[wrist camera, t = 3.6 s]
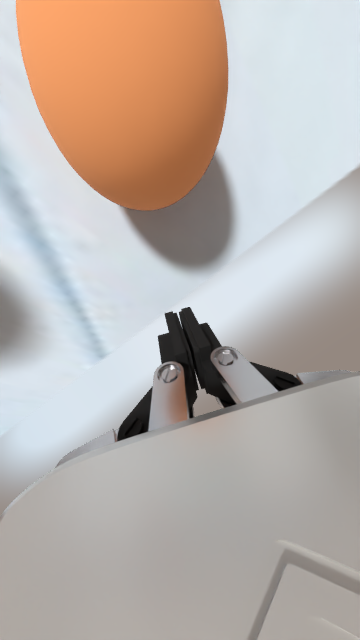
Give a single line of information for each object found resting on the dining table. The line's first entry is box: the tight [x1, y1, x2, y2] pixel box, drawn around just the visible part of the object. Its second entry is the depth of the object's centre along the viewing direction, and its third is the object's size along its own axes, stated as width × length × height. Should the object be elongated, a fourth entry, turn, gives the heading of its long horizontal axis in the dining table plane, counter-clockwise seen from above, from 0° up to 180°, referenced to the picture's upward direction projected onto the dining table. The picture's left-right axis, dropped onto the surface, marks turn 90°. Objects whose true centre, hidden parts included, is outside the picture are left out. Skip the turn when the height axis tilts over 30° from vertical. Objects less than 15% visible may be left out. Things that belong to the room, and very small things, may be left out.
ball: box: [16, 0, 228, 210], centre depth 6 cm, size 6×6×6 cm
